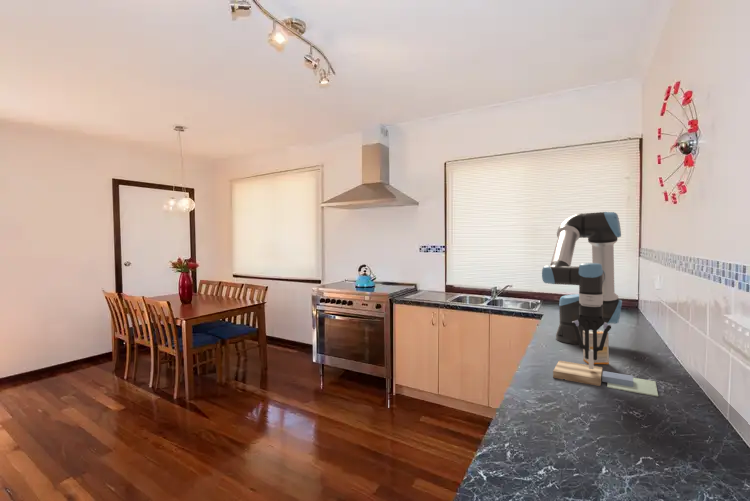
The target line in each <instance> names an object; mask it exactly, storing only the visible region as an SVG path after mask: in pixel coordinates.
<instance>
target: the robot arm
mask: <svg viewBox="0 0 750 501" xmlns="http://www.w3.org/2000/svg"><path fill="white" fill-rule="evenodd" d="M556 237H557V240H556V244H555V246H554V251H553V254H552V258H551V261H550V265H549V264H548V265H544V266H543V267H542V269H541V279H542V283H544V284H550V285H568V286H578V289H579V290H578V293H577V294H566V295H562V296H561V297H560V298H559V305H558V306H559V308H558V310H559V324H558V326H557V327H558V328H557V331H556V333H555V340H557V341H559V342H561V343H564V344H565V343H566V344H571V345H578V347H579V348H580V349H582V350H583V349H584V350H585V358H586V359H589V364H588V365H589V369H594V366H595V364H594V360H597V352H598V351H602V350H603V347H604V344H605V340H606V337H607V333H608V334H609V332H610V331H611V329H612V324H613V325H617V324H619V322H620V317H621V312H622V306H623V300H622V299H619V295H618V294H617V293H616V292H615V260H614V259H615V257H614V256H615V255H614V245H615V244H616V243H617V242H618V238H621V237H622V230H621V224H620V218H619V215H618V213H616V212H615V211H599V212H587V213H586V212H585V213H576V214H574V215H571V216H569V217H568V218H566V219H565V220H564V221H563V222H562V223H560V225H559V227H558V229H557V232H556ZM579 238H581V239H582V238H583V239H584V238H585V239H587V242H588V243H589V244H590V245H591V247H592V248H591V255H592V256H591V258H592V259H591V260H592V262H584V263H580V264H579V265H578V266H572V260H573V256H574V252H575V247H576V242H577V241H579ZM602 326H603V331H604V332H603V335H602V339H601V342H600V346H598V347H597V331H599V330H600V329H601V327H602ZM583 331H585V345H584V344H583ZM589 331H593V350H591V349H589Z"/></svg>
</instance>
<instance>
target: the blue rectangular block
mask: <svg viewBox="0 0 750 501" xmlns="http://www.w3.org/2000/svg"><path fill="white" fill-rule="evenodd" d="M602 373H603V374H602V380H601V383H602V382H603V383H613V384H619V385H625V386H630V387H633V378H634V375H631V374H624V373H617V372H612V371H611V372H610V371H606V370H602Z"/></svg>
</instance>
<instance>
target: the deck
mask: <svg viewBox="0 0 750 501" xmlns="http://www.w3.org/2000/svg"><path fill="white" fill-rule="evenodd" d="M602 375H603V367H602V366H598V365H594V369H589V364H583V363H577V362H572V361H564V360H558V362H557V363H556V365H555V367H554V369H553V370H552V378H553V379H559V380H563V379H565V381H569V382H570V381H571V382H576V383H581V384H586V385H592V386H597V387H601V384H602Z"/></svg>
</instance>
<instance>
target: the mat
mask: <svg viewBox="0 0 750 501" xmlns="http://www.w3.org/2000/svg"><path fill="white" fill-rule="evenodd" d="M606 383H607V382H606ZM657 387H658V386H657V382H656V380H648V379H643V378H639V377H638V378H637V377H633V387H630V386H625V385H619V384H613V383H607V386H606V388H608V389H609V388H610V389H614V390H620V391H625V392H630V393H637V394H640V395H647V396H651V397H652V396H653V397H658V398H659V392H658V388H657Z"/></svg>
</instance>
